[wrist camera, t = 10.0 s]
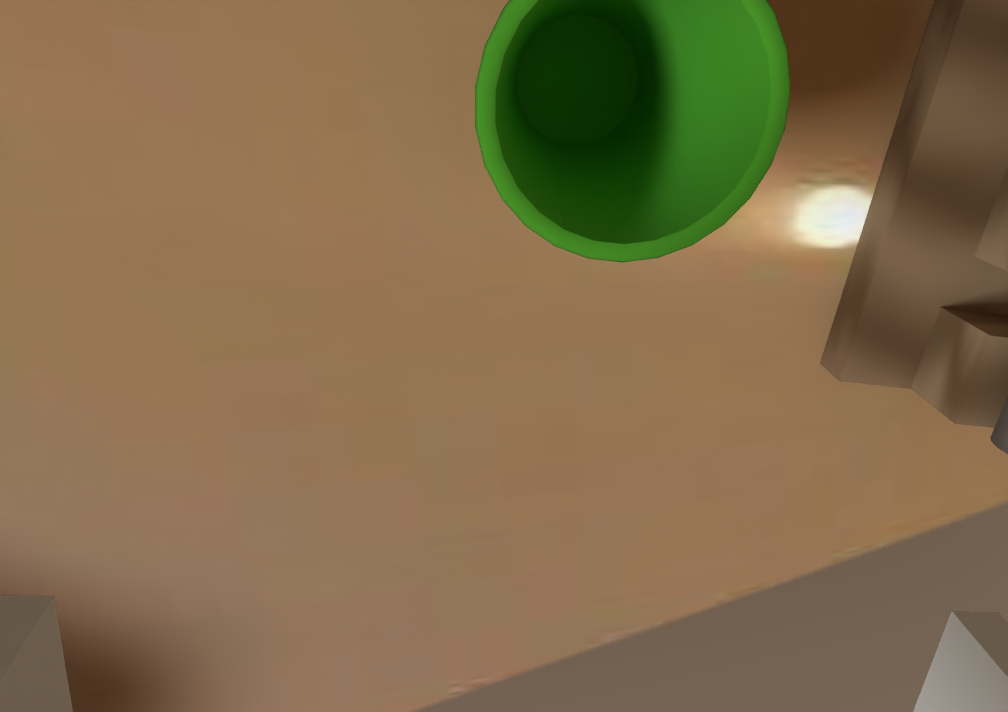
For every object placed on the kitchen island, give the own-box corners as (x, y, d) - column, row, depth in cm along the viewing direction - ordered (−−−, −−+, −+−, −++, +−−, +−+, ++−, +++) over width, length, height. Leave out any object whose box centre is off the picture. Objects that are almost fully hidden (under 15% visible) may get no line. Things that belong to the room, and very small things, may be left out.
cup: (726, 30, 33) (857, 37, 23) (610, 227, 36) (680, 312, 25) (532, -93, 31) (580, -146, 20) (424, 128, 33) (419, 178, 23)
